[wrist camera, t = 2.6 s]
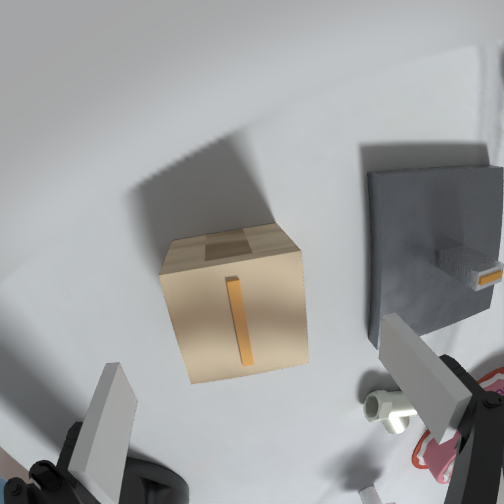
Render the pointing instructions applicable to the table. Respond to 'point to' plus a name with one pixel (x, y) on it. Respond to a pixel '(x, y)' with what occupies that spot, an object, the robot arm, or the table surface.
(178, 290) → the taped cardboard box
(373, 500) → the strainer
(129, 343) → the table surface
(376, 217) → the grey piece
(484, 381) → the cake
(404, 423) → the pipe fitting
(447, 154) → the table surface
